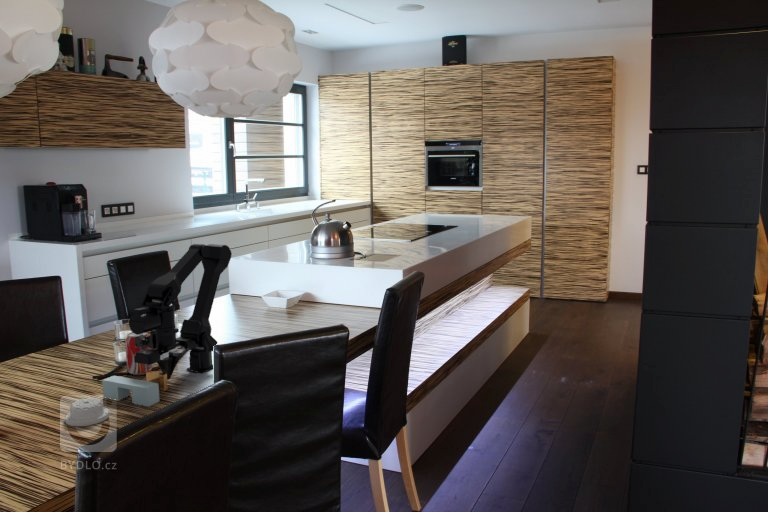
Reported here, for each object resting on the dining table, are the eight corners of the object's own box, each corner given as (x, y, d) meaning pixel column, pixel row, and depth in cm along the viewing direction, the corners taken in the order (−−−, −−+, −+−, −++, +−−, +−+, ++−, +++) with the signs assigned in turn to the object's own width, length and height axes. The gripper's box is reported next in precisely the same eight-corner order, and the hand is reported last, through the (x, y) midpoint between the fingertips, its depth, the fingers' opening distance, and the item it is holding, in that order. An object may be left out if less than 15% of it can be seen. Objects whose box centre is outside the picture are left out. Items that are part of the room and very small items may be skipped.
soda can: (126, 370, 201) (124, 332, 199) (151, 367, 204) (148, 329, 202) (127, 377, 195) (125, 338, 193) (153, 374, 197) (150, 335, 195)
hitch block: (115, 392, 182) (113, 375, 181) (159, 401, 175) (158, 383, 174) (103, 397, 178) (102, 379, 178) (148, 406, 172) (147, 388, 171)
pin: (150, 386, 187) (149, 370, 186) (167, 389, 184) (166, 373, 184) (130, 394, 181) (129, 378, 180) (148, 397, 178) (147, 381, 177)
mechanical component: (117, 418, 165) (97, 408, 171) (115, 401, 164) (96, 392, 171) (77, 431, 157) (58, 420, 164) (76, 413, 157) (56, 403, 163)
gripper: (166, 316, 198) (169, 366, 200) (117, 330, 181) (121, 385, 184) (195, 319, 194) (198, 371, 196) (148, 335, 177) (151, 391, 179)
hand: (167, 379), depth 189 cm, fingers closed
